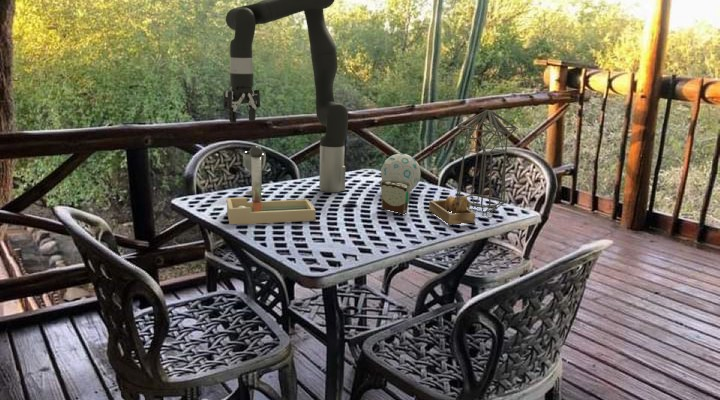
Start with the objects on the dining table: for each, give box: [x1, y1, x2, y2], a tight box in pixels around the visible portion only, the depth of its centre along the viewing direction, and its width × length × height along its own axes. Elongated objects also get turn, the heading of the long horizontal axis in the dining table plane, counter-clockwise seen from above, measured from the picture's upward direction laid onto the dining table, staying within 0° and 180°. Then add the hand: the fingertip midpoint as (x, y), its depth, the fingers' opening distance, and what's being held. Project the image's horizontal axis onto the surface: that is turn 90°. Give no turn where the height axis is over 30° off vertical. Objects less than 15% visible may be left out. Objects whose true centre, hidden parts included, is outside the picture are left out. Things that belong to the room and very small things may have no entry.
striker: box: [249, 145, 264, 212], centre depth 182 cm, size 4×5×21 cm
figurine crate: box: [428, 199, 476, 225], centre depth 190 cm, size 9×17×4 cm, turn 16°
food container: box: [379, 179, 413, 215], centre depth 196 cm, size 12×6×10 cm, turn 47°
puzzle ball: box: [380, 153, 422, 190], centre depth 220 cm, size 15×15×15 cm
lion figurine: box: [445, 195, 473, 214], centre depth 189 cm, size 15×5×9 cm, turn 23°
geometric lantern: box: [455, 109, 519, 217], centre depth 192 cm, size 16×16×35 cm
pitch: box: [226, 197, 316, 225], centre depth 185 cm, size 26×13×5 cm, turn 106°
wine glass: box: [242, 150, 267, 196], centre depth 213 cm, size 8×8×15 cm
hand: (242, 121), depth 194 cm, fingers open, 8 cm apart
